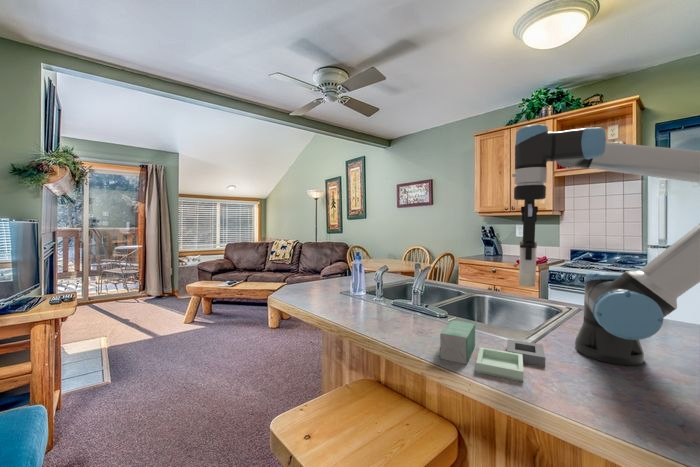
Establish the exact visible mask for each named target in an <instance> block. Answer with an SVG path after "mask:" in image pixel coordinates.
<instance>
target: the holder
mask: <svg viewBox="0 0 700 467" xmlns="http://www.w3.org/2000/svg"><path fill="white" fill-rule="evenodd" d="M506 352H512V353H518V354H522V355H523V364H528V365H534V366H538V367H539V366H540V367H544V368H545V367H546V355H545V350H544V346H543V344H541V343H535V342H533V343H532V342H529V341H528V342H527V341H523V340H522V341H521V340H515V339H514V340H513V339H508V338H507V342H506Z"/></svg>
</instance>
